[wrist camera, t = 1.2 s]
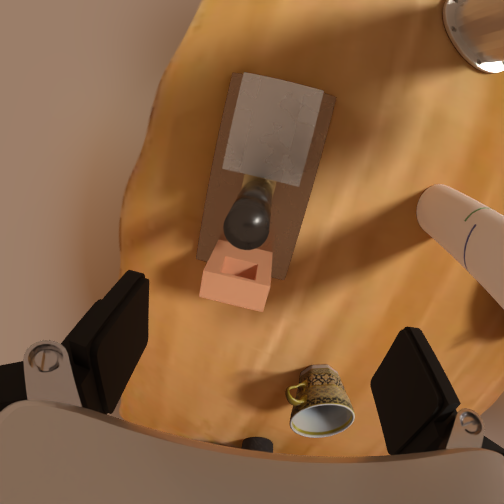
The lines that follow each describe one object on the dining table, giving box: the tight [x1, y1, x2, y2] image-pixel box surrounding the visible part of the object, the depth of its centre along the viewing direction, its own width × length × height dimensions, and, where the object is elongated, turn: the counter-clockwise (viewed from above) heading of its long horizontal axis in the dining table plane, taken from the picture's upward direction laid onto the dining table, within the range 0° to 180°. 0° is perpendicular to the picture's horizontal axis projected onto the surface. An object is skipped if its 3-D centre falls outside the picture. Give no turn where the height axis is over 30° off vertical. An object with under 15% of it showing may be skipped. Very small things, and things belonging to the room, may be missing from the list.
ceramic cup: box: [285, 365, 355, 438], centre depth 43 cm, size 13×10×10 cm
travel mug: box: [242, 437, 273, 453], centre depth 50 cm, size 8×8×20 cm
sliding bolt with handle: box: [223, 174, 277, 250], centre depth 24 cm, size 16×3×12 cm, turn 167°
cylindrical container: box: [416, 184, 504, 309], centre depth 23 cm, size 7×7×25 cm
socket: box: [199, 240, 273, 312], centre depth 35 cm, size 3×7×8 cm, turn 77°
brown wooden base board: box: [196, 72, 336, 280], centre depth 31 cm, size 24×12×9 cm, turn 167°
